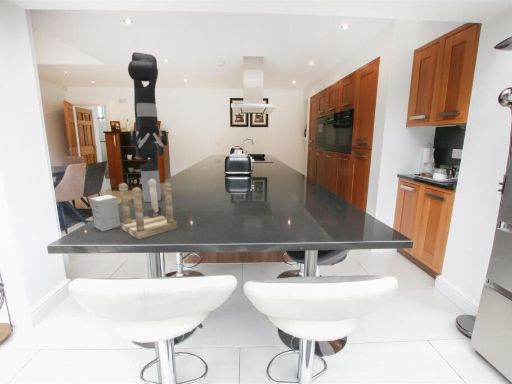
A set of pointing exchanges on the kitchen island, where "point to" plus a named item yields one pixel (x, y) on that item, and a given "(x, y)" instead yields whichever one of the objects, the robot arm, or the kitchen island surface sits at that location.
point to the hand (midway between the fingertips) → (150, 156)
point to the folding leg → (153, 194)
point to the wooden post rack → (152, 222)
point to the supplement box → (105, 212)
